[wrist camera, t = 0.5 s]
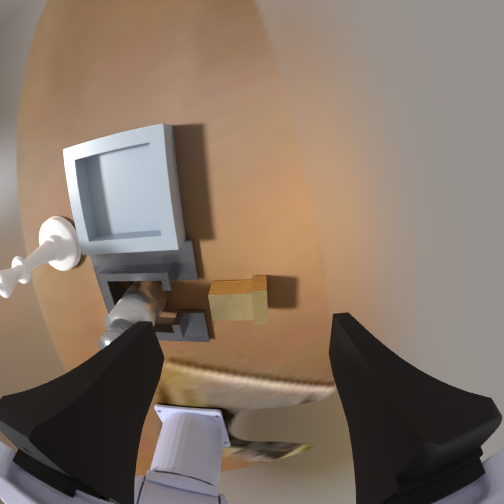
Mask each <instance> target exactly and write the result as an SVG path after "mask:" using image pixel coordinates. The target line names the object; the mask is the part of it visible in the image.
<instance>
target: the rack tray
mask: <svg viewBox="0 0 504 504" xmlns="http://www.w3.org/2000/svg"><path fill="white" fill-rule="evenodd" d="M63 153H64V162H65V171H66V178H67V185H68V191H69V197H70V203H71V208H72V213H73V218H74V223H75V227H76V231H77V236H78V240H79V244H80V248H81V252H82V255H94V254H111V253H128V252H145V251H163V250H179V248H180V247H181V246H182V244H183V243H184V241H185V240H186V235H185V228H184V221H183V213H182V206H181V198H180V190H179V181H178V172H177V162H176V152H175V141H174V128H173V125H169V124H158V125H153V126H148V127H143V128H139V129H134V130H130V131H125V132H121V133H117V134H113V135H110V136H106V137H102V138H99V139H95V140H92V141H88V142H85V143H82V144H79V145H76V146H72V147H69V148H66V149H64V150H63Z"/></svg>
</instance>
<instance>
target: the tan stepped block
mask: <svg viewBox="0 0 504 504" xmlns="http://www.w3.org/2000/svg"><path fill="white" fill-rule="evenodd" d="M208 298H209V304H210V310H211V316H212V321H235V320H254V325H266V324H268V303H267V280H266V275H263V276H252V280H230V281H212V284H211V287H210V290H209V293H208Z"/></svg>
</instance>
